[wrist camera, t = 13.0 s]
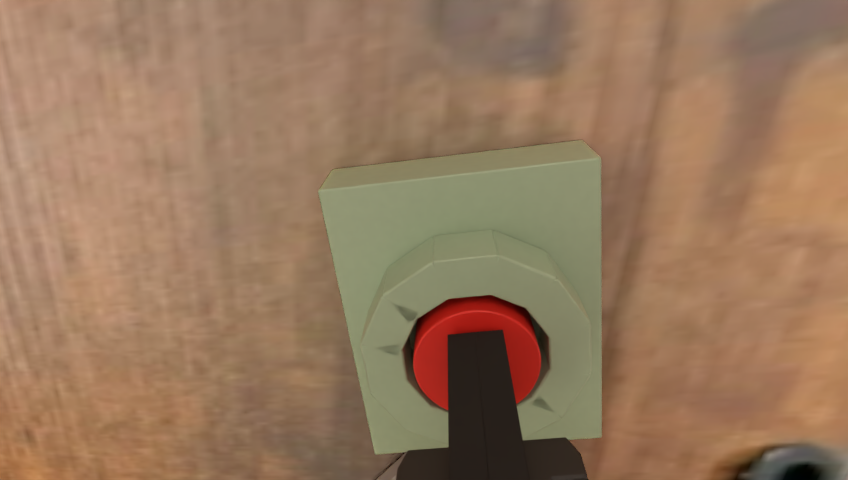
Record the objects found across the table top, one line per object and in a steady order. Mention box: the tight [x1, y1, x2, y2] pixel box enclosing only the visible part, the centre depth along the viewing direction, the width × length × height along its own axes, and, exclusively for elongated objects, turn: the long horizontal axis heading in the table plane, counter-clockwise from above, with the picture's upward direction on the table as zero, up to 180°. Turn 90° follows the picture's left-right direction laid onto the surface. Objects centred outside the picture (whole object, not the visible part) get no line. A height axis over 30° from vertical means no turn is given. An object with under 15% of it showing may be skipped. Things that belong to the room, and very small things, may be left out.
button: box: [413, 295, 541, 410], centre depth 16 cm, size 4×4×2 cm
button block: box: [318, 140, 602, 454], centre depth 17 cm, size 10×8×4 cm
